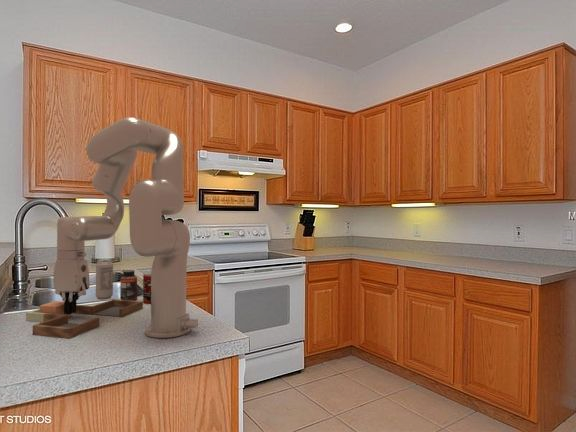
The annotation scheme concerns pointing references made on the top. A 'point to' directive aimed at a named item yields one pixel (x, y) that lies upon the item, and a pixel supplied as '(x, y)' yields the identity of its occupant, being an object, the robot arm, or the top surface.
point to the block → (53, 308)
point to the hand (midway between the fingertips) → (70, 313)
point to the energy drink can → (104, 279)
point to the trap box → (59, 323)
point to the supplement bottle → (128, 285)
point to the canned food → (147, 287)
